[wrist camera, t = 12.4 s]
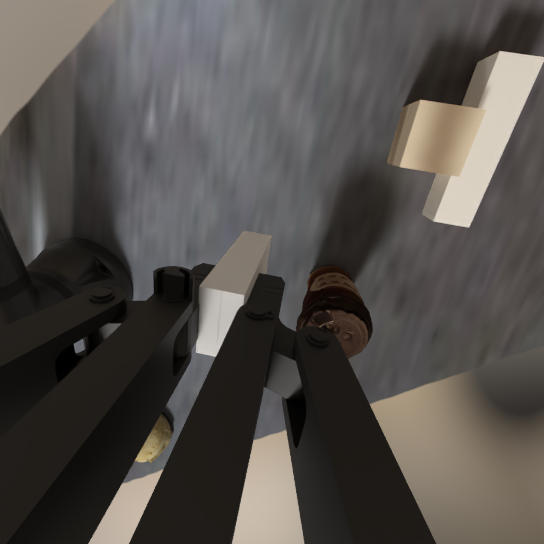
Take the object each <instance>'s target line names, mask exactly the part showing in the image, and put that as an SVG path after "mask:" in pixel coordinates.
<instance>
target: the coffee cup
mask: <svg viewBox="0 0 544 544" xmlns="http://www.w3.org/2000/svg"><path fill="white" fill-rule="evenodd" d="M307 285H308V290H307V294H306V295H305V298H304V301H303V308H302V312H301V314H300V316H299V317H298V319H297V326H296V332H298V330H299V329H301V328H303V327H305V326H316V327H321V328H324V329H326V330H328V331H330V332H331V333H333V334H334V335H335V336H336V337H337V339H338V340H339V342H340V344H341V346H342V348H343V350H344V352H345V354H346V356H347V358H348V359H349V358H350V357H352V356H354V355H356V354H358V353H360V352H361V351H362V350H363V349H364V348H365V347H366V345H367V343H368V342H369V340H370V338H371V335H372V331H373V327H372V321H371V317H370V313H369V311H368V310H367V308H366V307H365V305H364V302H363V300H362V298H361V296H360V294H359V292H358V289H357V288H356V286H355V285H354V283H353V282H352V280H351V277H350V275H349V274H348V273H347V272H346V271H345V270H344V269H342V268H340V267H337V266H324V267H321V268H318V269H316V270H315V271H314V272H313V273H312V274H310V275H309V280H308V282H307Z"/></svg>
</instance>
